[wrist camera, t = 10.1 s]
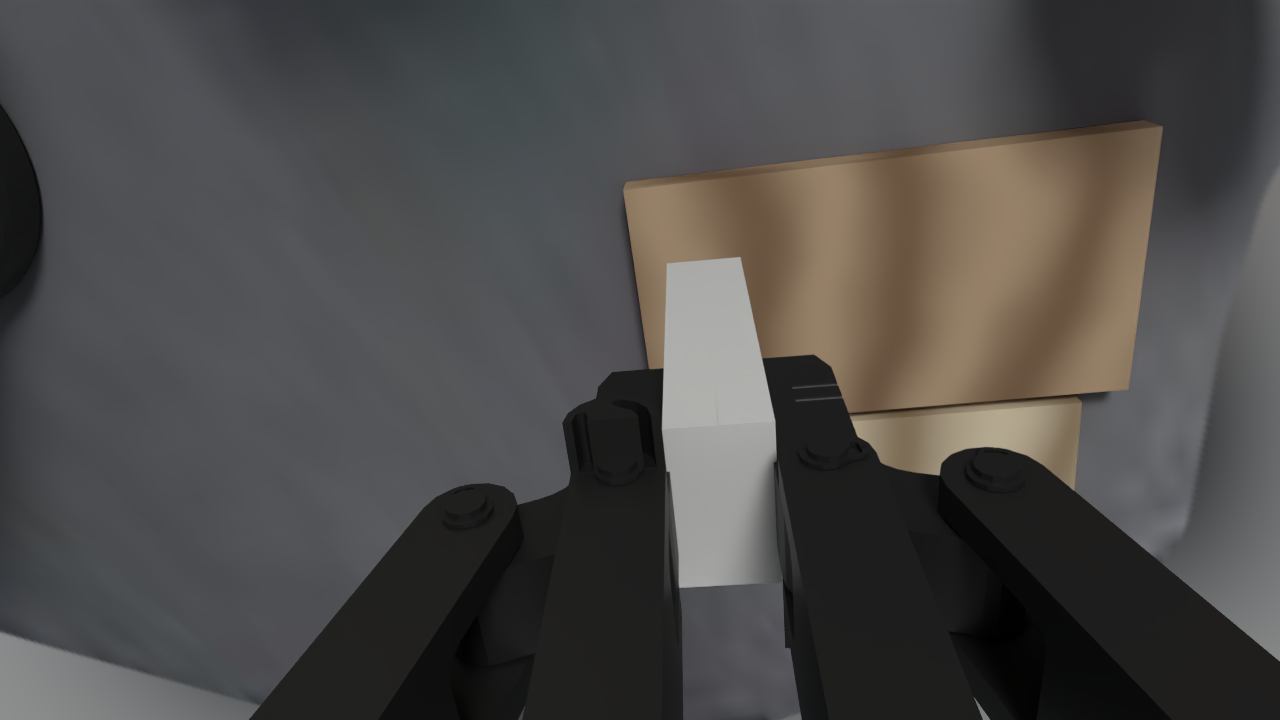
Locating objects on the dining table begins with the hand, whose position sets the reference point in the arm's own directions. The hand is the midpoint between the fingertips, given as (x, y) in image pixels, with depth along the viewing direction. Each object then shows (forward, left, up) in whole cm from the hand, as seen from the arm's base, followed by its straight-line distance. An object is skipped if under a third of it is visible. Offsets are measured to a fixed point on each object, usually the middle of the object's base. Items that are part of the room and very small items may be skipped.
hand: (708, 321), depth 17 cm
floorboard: (+7, -8, -21) cm, 23 cm away
